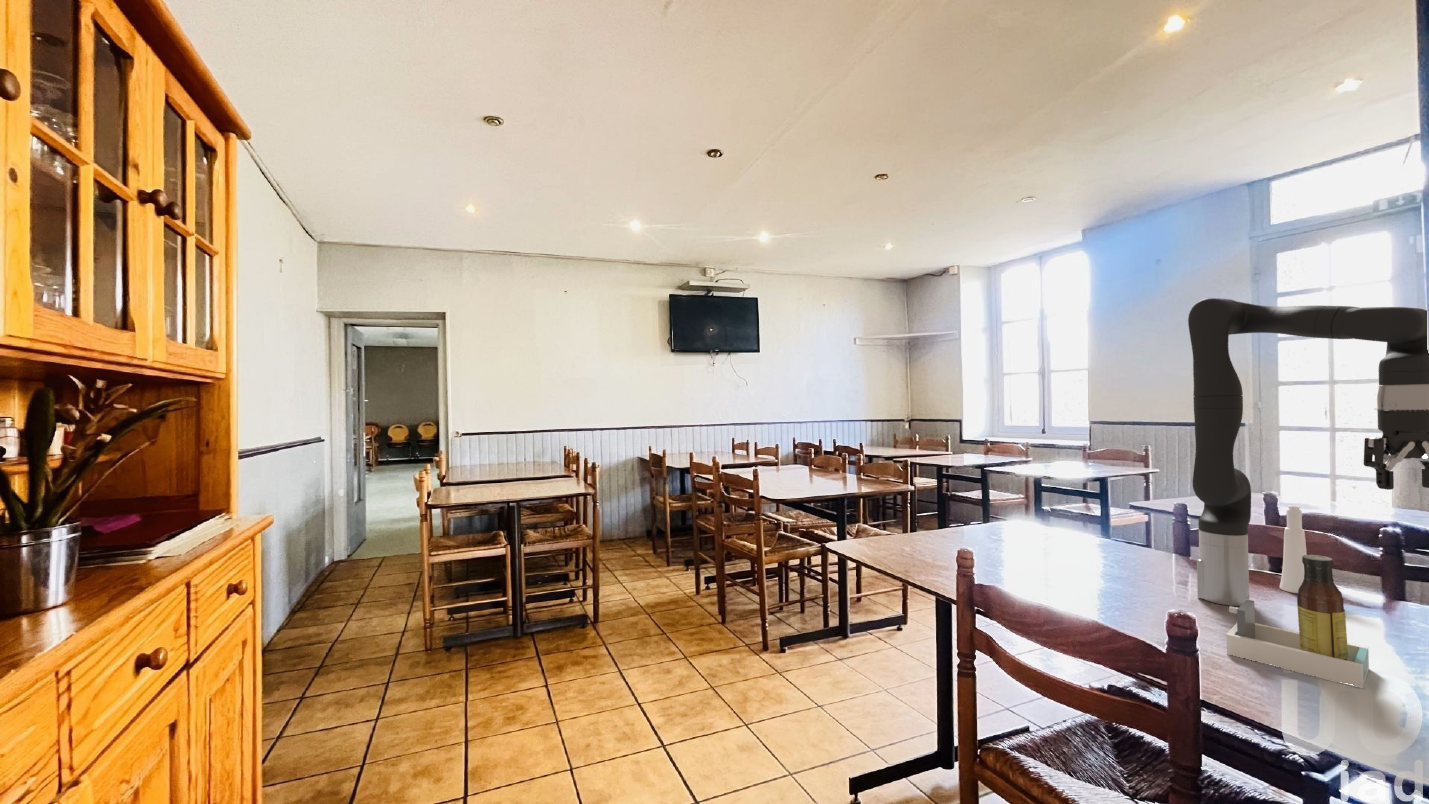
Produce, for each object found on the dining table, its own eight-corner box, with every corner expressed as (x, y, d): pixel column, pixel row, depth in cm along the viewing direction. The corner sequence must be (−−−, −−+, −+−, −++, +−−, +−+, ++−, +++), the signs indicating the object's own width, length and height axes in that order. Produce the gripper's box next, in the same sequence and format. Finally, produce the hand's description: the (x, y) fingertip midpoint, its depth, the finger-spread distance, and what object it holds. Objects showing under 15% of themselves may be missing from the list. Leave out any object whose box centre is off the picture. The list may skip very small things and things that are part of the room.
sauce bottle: (1337, 658, 109) (1335, 554, 109) (1356, 672, 104) (1354, 563, 104) (1291, 652, 112) (1289, 551, 112) (1308, 666, 106) (1306, 560, 106)
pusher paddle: (1225, 645, 116) (1224, 606, 116) (1235, 633, 121) (1234, 597, 121) (1245, 650, 113) (1244, 611, 113) (1255, 638, 118) (1254, 600, 118)
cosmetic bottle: (1286, 592, 147) (1284, 507, 147) (1274, 585, 153) (1272, 503, 153) (1317, 595, 145) (1315, 508, 145) (1305, 588, 150) (1303, 504, 150)
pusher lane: (1226, 654, 114) (1226, 634, 114) (1240, 638, 121) (1239, 619, 121) (1362, 688, 100) (1362, 666, 100) (1368, 668, 107) (1368, 647, 107)
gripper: (1421, 406, 118) (1422, 485, 118) (1348, 408, 119) (1350, 486, 119) (1467, 406, 110) (1469, 490, 110) (1390, 408, 111) (1392, 492, 111)
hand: (1407, 488), depth 115 cm, fingers open, 8 cm apart
